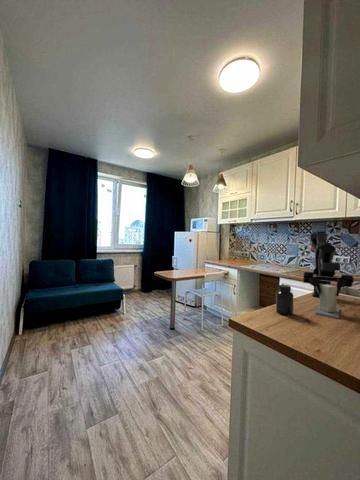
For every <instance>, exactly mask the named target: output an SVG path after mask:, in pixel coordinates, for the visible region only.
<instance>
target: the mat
mask: <svg viewBox="0 0 360 480" xmlns="http://www.w3.org/2000/svg"><path fill="white" fill-rule="evenodd" d="M315 315H318V316H322V317H329V318H331V319H332V318H333V319H337V320H339V319H340V308H339V307H338V306H337V307H336V312H327V311H324V310H322V309H320V308H319V303H318V305H317V307H316V311H315Z"/></svg>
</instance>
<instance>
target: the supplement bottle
mask: <svg viewBox="0 0 360 480" xmlns="http://www.w3.org/2000/svg"><path fill="white" fill-rule="evenodd" d="M291 287H292V286H291V285H287V284H279V285H278V287H277V288H278V291H277V292H276V293H275V308H276V309H275V311H276V313H278V315H282V316H292V315H294V294H293V292H292V289H291Z"/></svg>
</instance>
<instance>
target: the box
mask: <svg viewBox="0 0 360 480" xmlns="http://www.w3.org/2000/svg"><path fill="white" fill-rule="evenodd" d="M337 300H338V297H337V287H336V285H335V286H334V285H331V284H330V285H328V284H320V297H319V301H318V304H319V308H320V309H322V310H324V311H327V312H336V307H337V308H338V306H337V304H338V303H337V302H338V301H337Z"/></svg>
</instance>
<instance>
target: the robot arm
mask: <svg viewBox="0 0 360 480" xmlns="http://www.w3.org/2000/svg"><path fill="white" fill-rule="evenodd" d="M309 235H310V236H309V241H310V244H311V246H312V247H313V249H314V265H315V268H314V269H313V271H303V276H302V281H303V282H302V283H304V284H305V283H307V284H310V285H311V286H312V287H313V293H312V295H311V296H312V297H314V298H320V284H328V285H331V282H333V283H336V285H335V286H336V287H337V298H338V297H339V295H340V291H341V289H342V288H346V287H347V288H351V287H352V286H353V284H354V281H355V278H354V276H353V275H351V274H341V276H340V277H337V276H336V271H340V270H341V264H340V262H334V263H333V259H334V256H335V254H336V253H337V252H336V247H335V246H334V245H332V244H330V242H327V241H328V233H326V231H323V230H316V231H314V232H313V233H310V234H309Z"/></svg>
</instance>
